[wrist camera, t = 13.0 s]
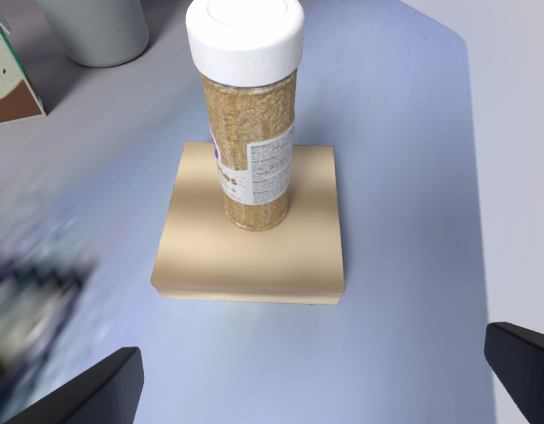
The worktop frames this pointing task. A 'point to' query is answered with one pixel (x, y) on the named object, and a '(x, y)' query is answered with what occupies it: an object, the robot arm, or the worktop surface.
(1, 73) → the food container
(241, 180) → the sprinkles bottle
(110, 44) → the water bottle
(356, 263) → the worktop surface
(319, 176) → the oak stand
